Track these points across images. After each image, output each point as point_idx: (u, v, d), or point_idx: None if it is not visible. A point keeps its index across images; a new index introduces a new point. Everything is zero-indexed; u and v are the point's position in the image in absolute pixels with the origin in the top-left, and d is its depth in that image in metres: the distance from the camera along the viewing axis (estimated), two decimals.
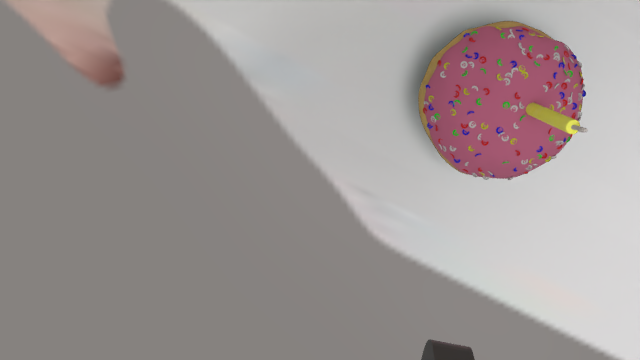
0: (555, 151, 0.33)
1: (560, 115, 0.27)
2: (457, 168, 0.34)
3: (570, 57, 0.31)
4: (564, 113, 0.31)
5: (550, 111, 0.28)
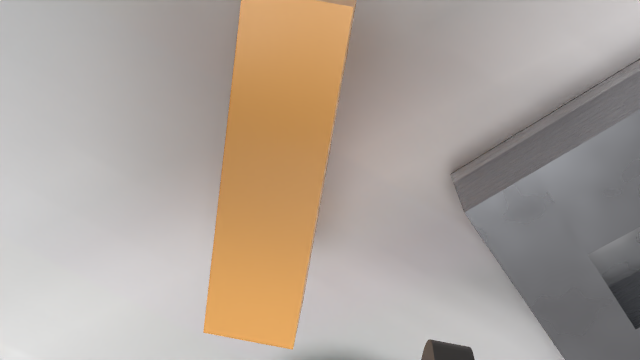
0: None
1: None
2: None
3: None
4: None
5: None
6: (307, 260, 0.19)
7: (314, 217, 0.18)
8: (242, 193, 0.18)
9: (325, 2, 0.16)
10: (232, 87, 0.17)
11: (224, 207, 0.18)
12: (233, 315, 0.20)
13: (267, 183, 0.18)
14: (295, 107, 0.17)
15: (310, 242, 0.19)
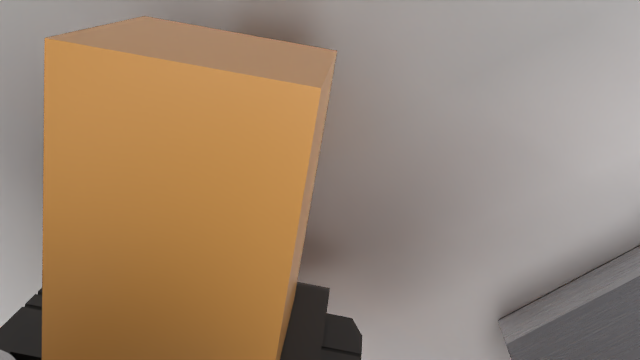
0: None
1: None
2: None
3: None
4: None
5: None
6: None
7: None
8: None
9: (252, 75, 0.07)
10: (46, 262, 0.07)
11: None
12: None
13: None
14: (192, 309, 0.07)
15: None
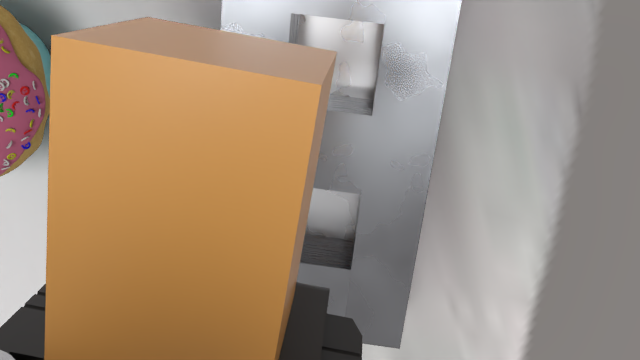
0: None
1: None
2: None
3: (30, 98, 0.24)
4: None
5: None
6: None
7: None
8: None
9: (253, 72, 0.07)
10: (49, 257, 0.08)
11: None
12: None
13: None
14: (194, 303, 0.08)
15: None
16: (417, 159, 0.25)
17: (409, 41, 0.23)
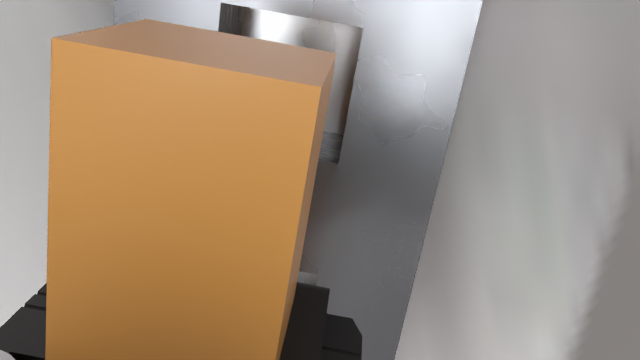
0: None
1: None
2: None
3: None
4: None
5: None
6: None
7: None
8: None
9: (253, 75, 0.07)
10: (50, 259, 0.08)
11: None
12: None
13: None
14: (194, 306, 0.08)
15: None
16: (402, 231, 0.17)
17: (399, 56, 0.15)
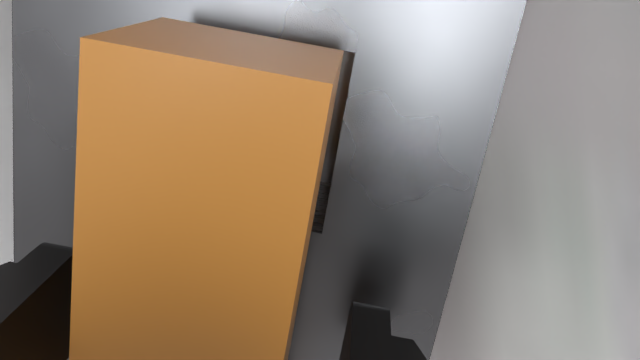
0: None
1: None
2: None
3: None
4: None
5: None
6: None
7: None
8: None
9: (269, 72, 0.07)
10: (76, 245, 0.08)
11: None
12: None
13: None
14: (212, 288, 0.08)
15: None
16: (407, 321, 0.13)
17: (404, 91, 0.11)
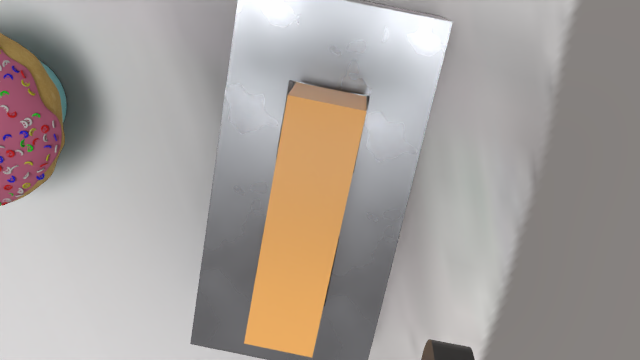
0: None
1: None
2: None
3: (48, 135, 0.27)
4: None
5: None
6: (326, 290, 0.25)
7: (332, 258, 0.25)
8: (280, 239, 0.25)
9: (346, 107, 0.23)
10: (276, 163, 0.24)
11: (265, 249, 0.25)
12: (267, 330, 0.26)
13: (298, 232, 0.24)
14: (322, 179, 0.24)
15: (329, 276, 0.25)
16: (390, 213, 0.28)
17: (390, 112, 0.27)
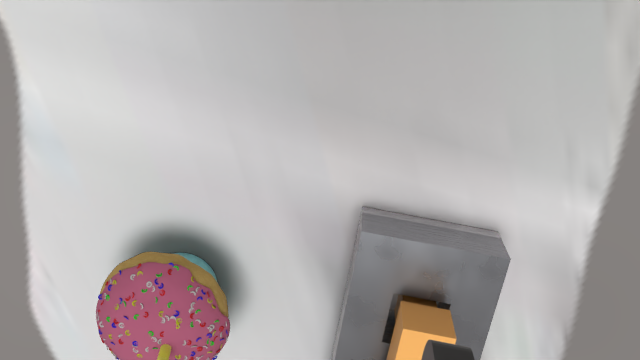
0: None
1: None
2: (99, 334, 0.39)
3: (223, 332, 0.38)
4: None
5: None
6: None
7: None
8: None
9: (442, 335, 0.34)
10: None
11: None
12: None
13: None
14: None
15: None
16: None
17: (464, 314, 0.38)
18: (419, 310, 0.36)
